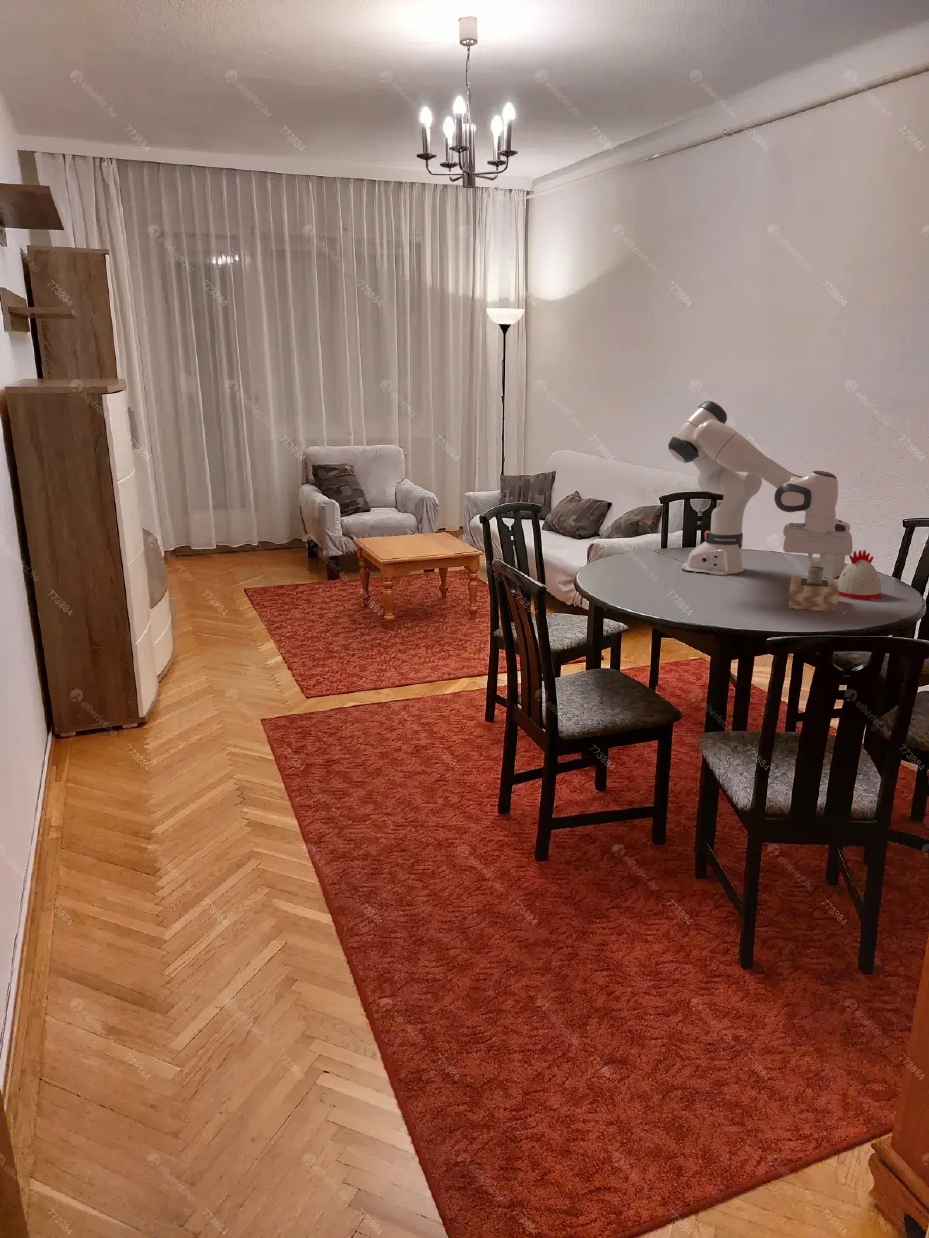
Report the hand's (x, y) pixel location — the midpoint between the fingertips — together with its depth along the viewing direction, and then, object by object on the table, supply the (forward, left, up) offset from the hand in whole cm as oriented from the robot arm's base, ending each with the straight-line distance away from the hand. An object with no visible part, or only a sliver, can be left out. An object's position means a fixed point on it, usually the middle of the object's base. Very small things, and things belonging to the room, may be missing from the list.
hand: (815, 567), depth 273 cm
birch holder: (0, 0, -12) cm, 12 cm away
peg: (0, 0, -10) cm, 10 cm away
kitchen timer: (+14, +17, -12) cm, 25 cm away
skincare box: (+6, +41, -12) cm, 43 cm away
